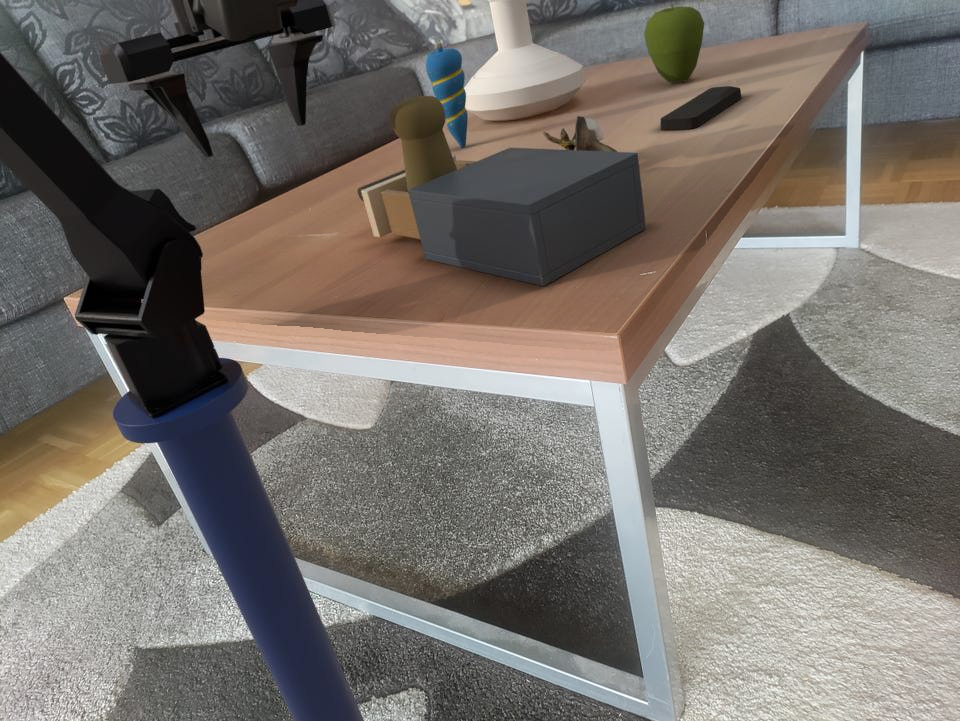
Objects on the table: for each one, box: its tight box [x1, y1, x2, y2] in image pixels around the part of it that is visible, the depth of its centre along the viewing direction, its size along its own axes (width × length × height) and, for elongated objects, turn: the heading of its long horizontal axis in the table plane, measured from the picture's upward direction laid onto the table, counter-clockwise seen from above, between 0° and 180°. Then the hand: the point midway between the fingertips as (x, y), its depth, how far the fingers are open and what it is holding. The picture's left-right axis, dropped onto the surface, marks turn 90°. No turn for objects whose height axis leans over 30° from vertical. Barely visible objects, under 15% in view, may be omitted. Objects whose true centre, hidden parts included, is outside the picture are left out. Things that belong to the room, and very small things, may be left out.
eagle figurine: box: [542, 115, 618, 152], centre depth 83 cm, size 8×7×9 cm
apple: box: [643, 2, 705, 84], centre depth 115 cm, size 9×8×12 cm
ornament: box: [425, 37, 469, 149], centre depth 106 cm, size 5×5×15 cm
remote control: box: [659, 85, 742, 131], centre depth 97 cm, size 5×2×15 cm
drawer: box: [357, 155, 478, 240], centre depth 75 cm, size 19×11×5 cm, turn 41°
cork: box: [389, 95, 457, 190], centre depth 73 cm, size 6×6×11 cm
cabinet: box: [408, 147, 647, 287], centre depth 66 cm, size 16×13×7 cm
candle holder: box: [464, 0, 586, 122], centre depth 119 cm, size 20×20×19 cm
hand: (257, 140), depth 67 cm, fingers open, 9 cm apart
